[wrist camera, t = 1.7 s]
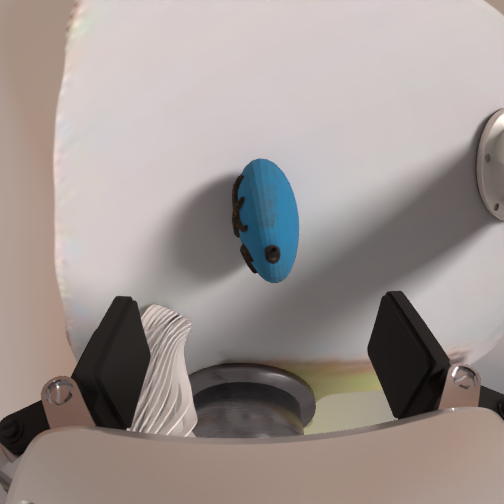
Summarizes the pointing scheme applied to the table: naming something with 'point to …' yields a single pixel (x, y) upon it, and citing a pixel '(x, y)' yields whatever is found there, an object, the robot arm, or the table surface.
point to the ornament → (266, 220)
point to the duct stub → (250, 402)
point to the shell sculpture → (165, 377)
